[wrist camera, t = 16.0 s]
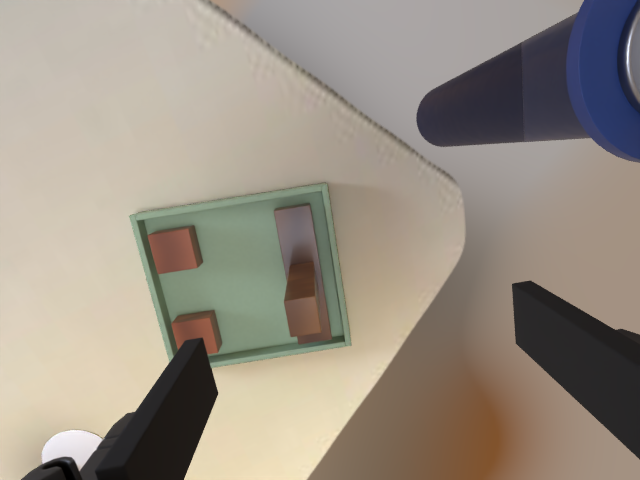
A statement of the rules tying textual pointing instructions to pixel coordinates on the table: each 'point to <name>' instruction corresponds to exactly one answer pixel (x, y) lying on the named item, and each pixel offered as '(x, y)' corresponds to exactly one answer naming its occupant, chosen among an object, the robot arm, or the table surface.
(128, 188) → the table surface
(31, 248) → the table surface
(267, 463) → the table surface
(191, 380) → the robot arm
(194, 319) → the chip
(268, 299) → the tray
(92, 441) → the wineglass
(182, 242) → the chip
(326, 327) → the brown piece
